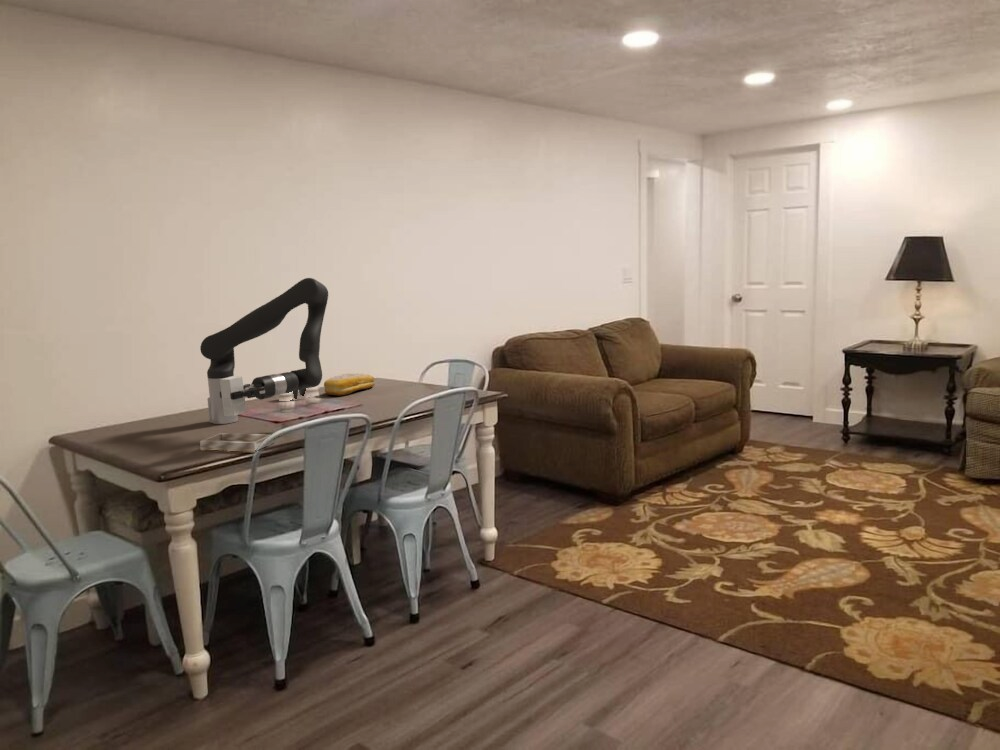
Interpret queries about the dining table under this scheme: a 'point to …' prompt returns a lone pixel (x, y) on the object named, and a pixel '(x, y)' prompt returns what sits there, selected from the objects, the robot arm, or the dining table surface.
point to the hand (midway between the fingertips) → (226, 395)
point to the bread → (348, 384)
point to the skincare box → (230, 405)
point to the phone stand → (301, 391)
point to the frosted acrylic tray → (233, 442)
